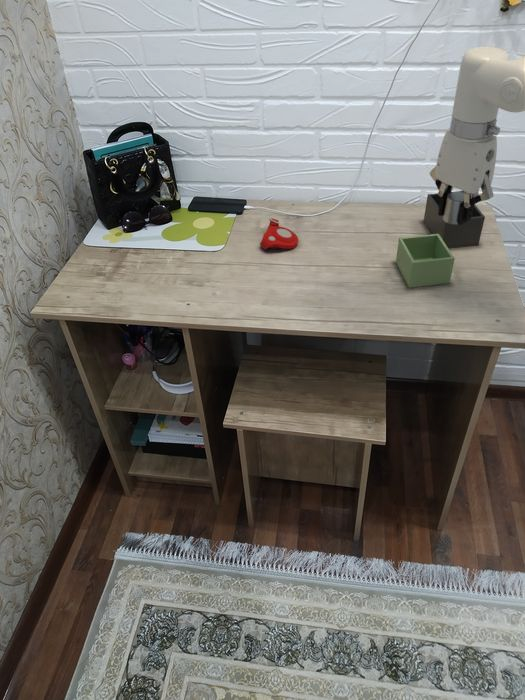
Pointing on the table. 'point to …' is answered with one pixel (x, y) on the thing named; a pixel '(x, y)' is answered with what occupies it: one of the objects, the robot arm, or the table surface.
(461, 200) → the steel cylinder
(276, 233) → the tracker holder
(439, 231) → the right bin
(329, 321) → the table surface
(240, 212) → the table surface
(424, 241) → the left bin
